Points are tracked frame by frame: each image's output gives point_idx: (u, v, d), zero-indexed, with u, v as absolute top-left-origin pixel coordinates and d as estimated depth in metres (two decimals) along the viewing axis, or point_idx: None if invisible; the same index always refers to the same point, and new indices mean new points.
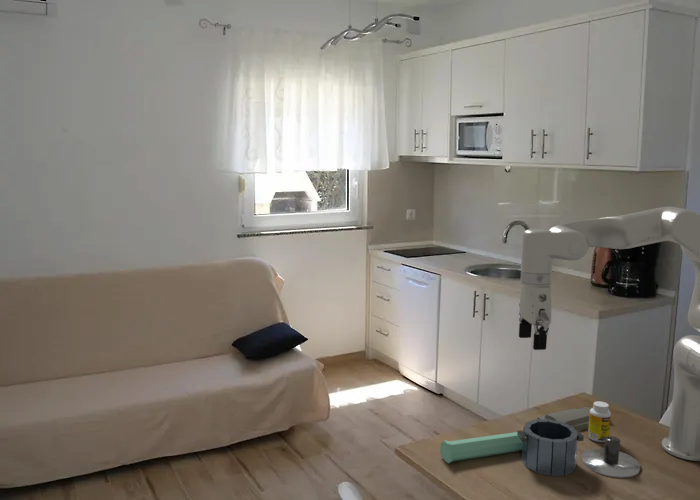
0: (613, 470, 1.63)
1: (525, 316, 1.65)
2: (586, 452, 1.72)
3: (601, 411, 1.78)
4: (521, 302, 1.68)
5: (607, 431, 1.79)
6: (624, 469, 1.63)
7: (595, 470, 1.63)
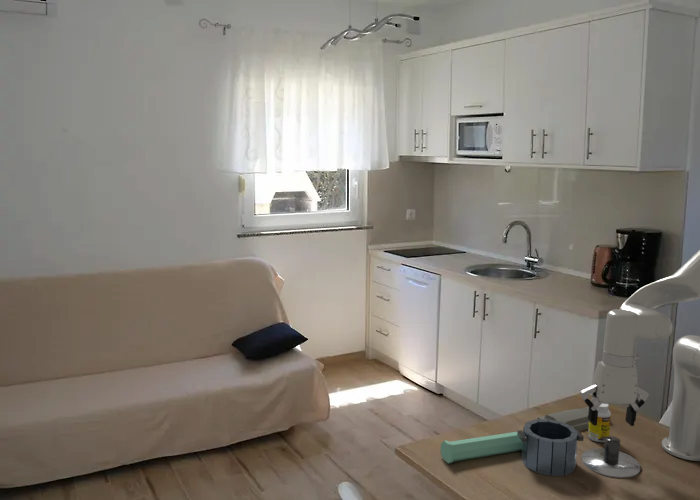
0: (613, 470, 1.63)
1: (618, 400, 1.62)
2: (586, 452, 1.72)
3: (601, 411, 1.78)
4: (608, 388, 1.61)
5: (607, 431, 1.79)
6: (624, 469, 1.63)
7: (595, 470, 1.63)
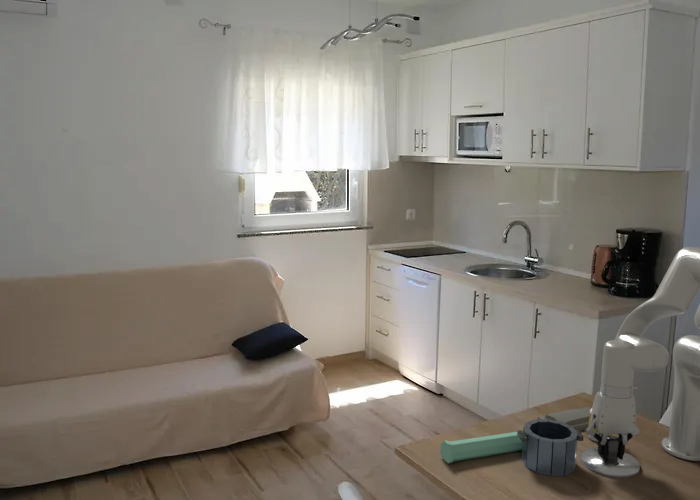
0: (612, 468, 1.63)
1: (617, 430, 1.64)
2: (586, 451, 1.72)
3: None
4: (607, 419, 1.63)
5: None
6: (623, 468, 1.63)
7: (595, 469, 1.63)
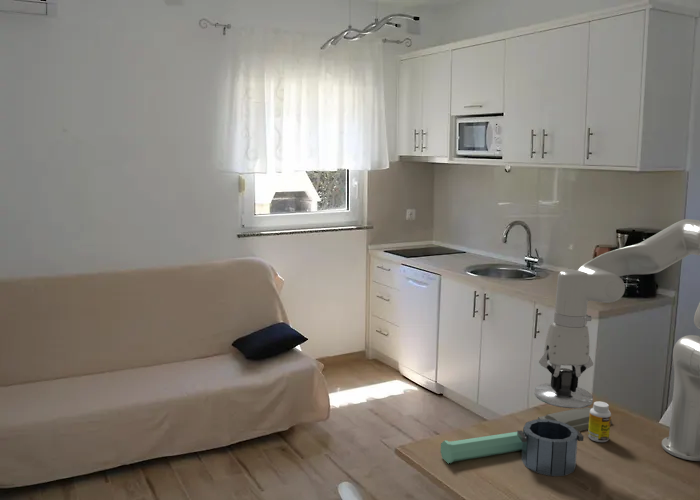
0: (564, 400, 1.60)
1: (570, 361, 1.61)
2: (540, 386, 1.69)
3: (601, 411, 1.78)
4: (560, 349, 1.60)
5: (607, 431, 1.79)
6: (576, 399, 1.60)
7: (546, 400, 1.60)
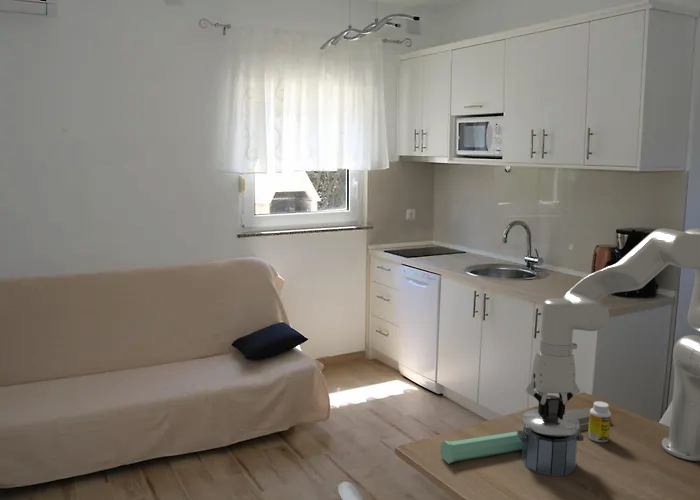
0: (551, 428, 1.61)
1: (556, 389, 1.62)
2: (528, 412, 1.70)
3: (601, 411, 1.78)
4: (546, 378, 1.61)
5: (607, 431, 1.79)
6: (563, 427, 1.62)
7: (533, 428, 1.61)
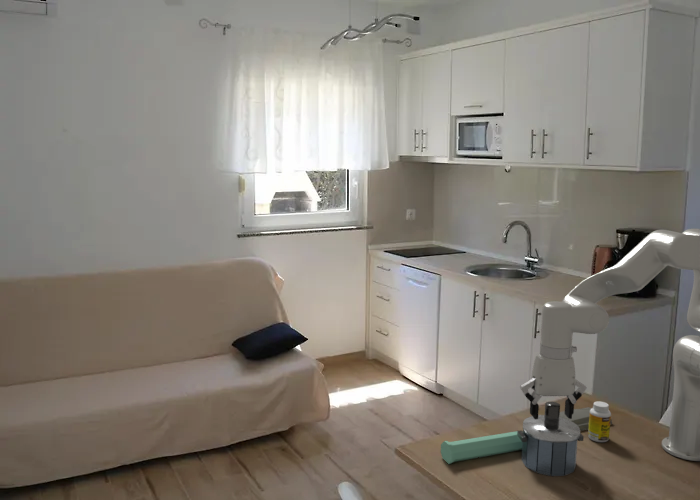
0: (552, 434, 1.61)
1: (556, 392, 1.62)
2: (528, 418, 1.70)
3: (601, 411, 1.78)
4: (546, 381, 1.61)
5: (607, 431, 1.79)
6: (563, 433, 1.62)
7: (534, 435, 1.62)
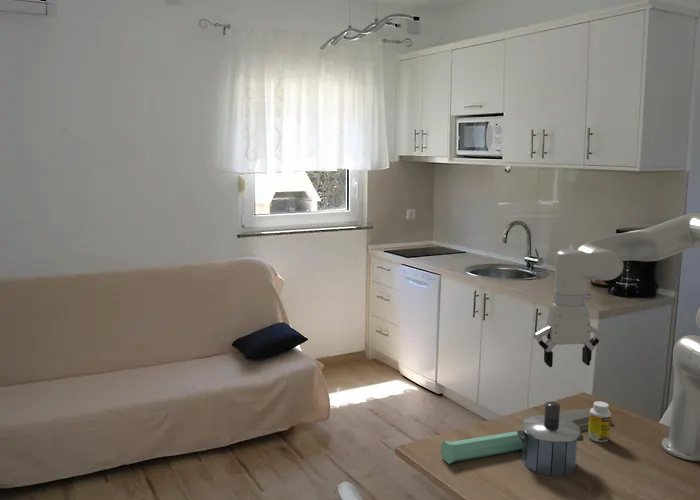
0: (552, 434, 1.61)
1: (572, 339, 1.62)
2: (528, 418, 1.70)
3: (601, 411, 1.78)
4: (561, 329, 1.61)
5: (607, 431, 1.79)
6: (563, 433, 1.62)
7: (534, 435, 1.62)
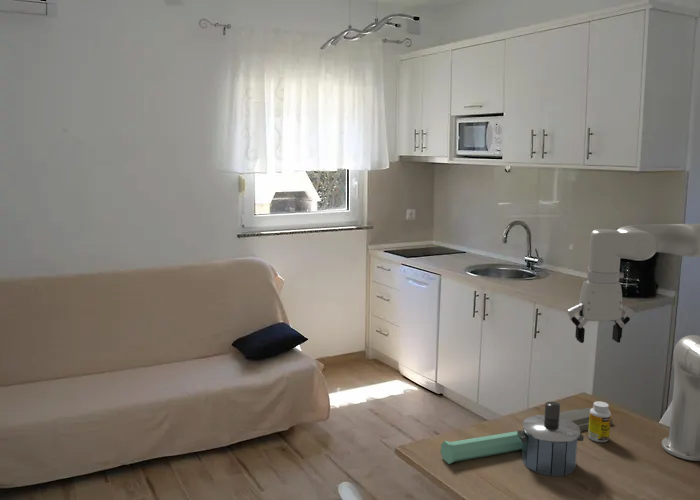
0: (552, 434, 1.61)
1: (604, 316, 1.67)
2: (528, 418, 1.70)
3: (601, 411, 1.78)
4: (594, 306, 1.66)
5: (607, 431, 1.79)
6: (563, 433, 1.62)
7: (534, 435, 1.62)
